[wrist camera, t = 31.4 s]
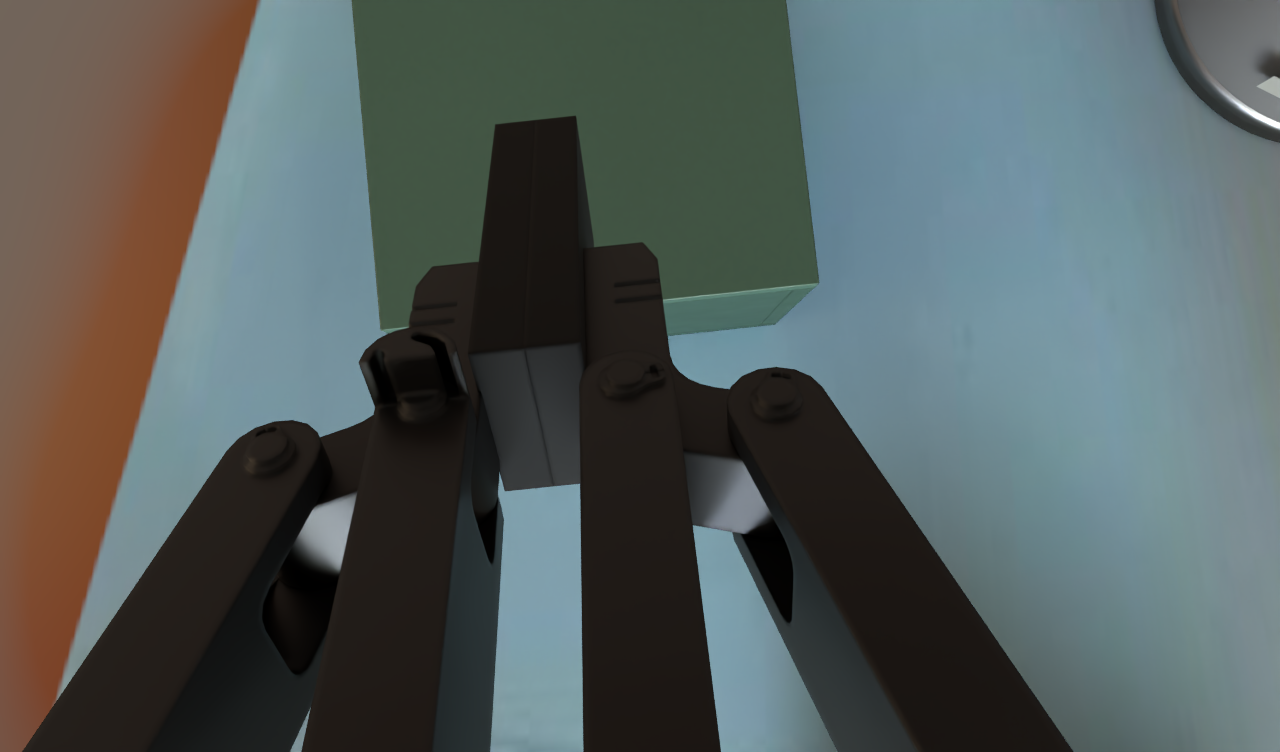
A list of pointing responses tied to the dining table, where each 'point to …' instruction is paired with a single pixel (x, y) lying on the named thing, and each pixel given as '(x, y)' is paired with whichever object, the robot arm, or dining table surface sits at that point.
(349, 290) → the dining table surface
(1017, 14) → the dining table surface
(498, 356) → the robot arm
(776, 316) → the bin
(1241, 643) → the dining table surface
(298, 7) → the dining table surface
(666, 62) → the bin lid
